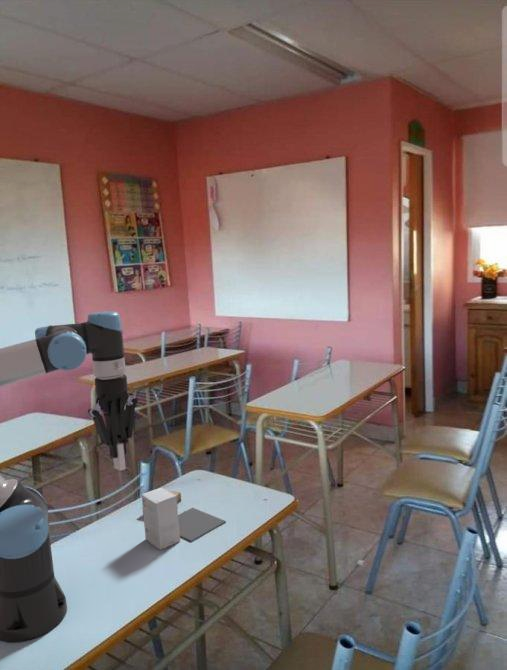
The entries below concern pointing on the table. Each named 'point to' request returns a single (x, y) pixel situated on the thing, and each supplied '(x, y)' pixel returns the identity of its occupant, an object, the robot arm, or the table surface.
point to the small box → (160, 518)
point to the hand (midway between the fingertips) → (119, 468)
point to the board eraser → (177, 494)
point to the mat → (197, 524)
